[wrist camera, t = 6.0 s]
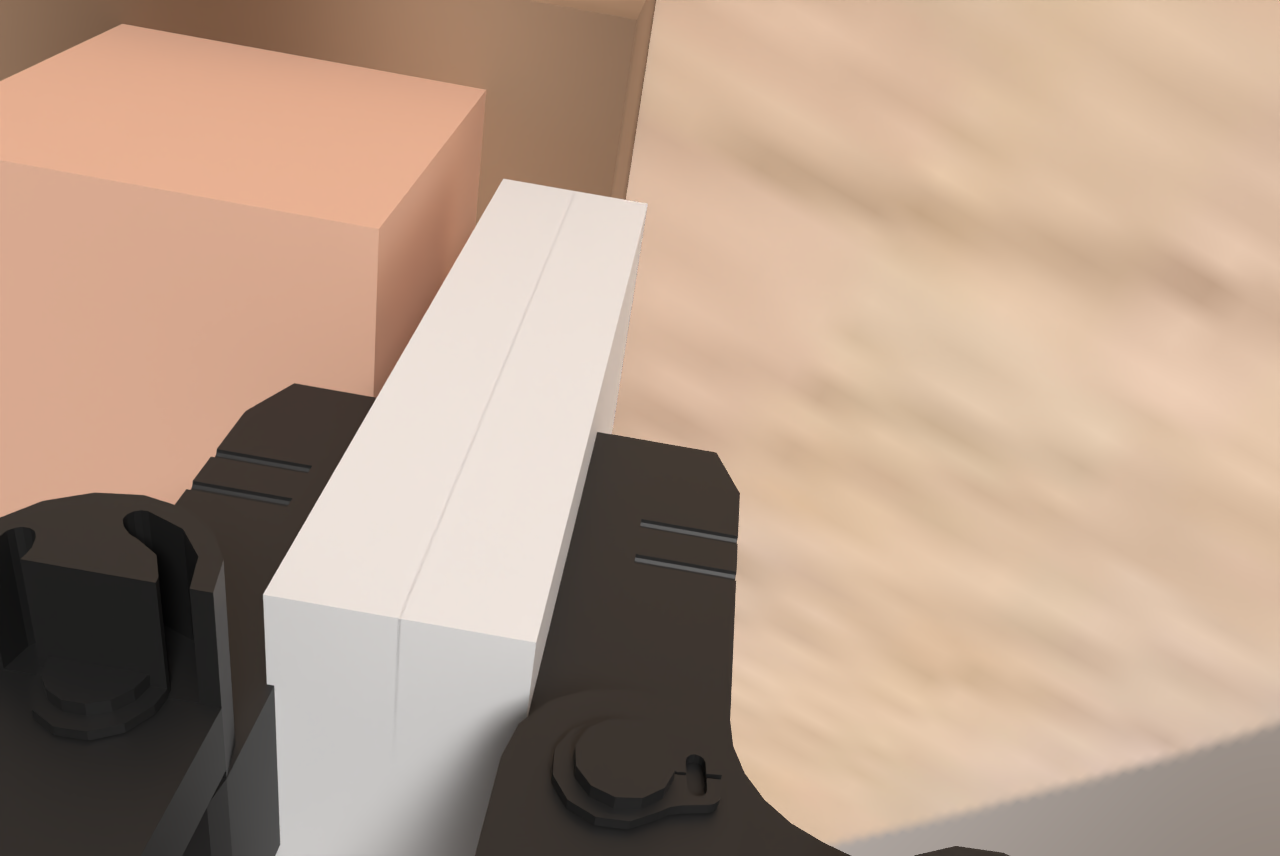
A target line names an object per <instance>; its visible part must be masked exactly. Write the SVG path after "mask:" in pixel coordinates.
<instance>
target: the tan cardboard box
mask: <svg viewBox="0 0 1280 856" xmlns="http://www.w3.org/2000/svg"><path fill="white" fill-rule="evenodd" d="M655 3H656V0H0V81H2V80H4V79H6V78H8V77H10V76H12V75H14V74H17V73H19V72H21V71H23V70H25V69H27V68H29V67H31V66H34V65H36V64H38V63H40V62H42V61H44V60H46V59H48V58H51V57H53V56H55V55H57V54H59V53H61V52H63V51H65V50H68V49H70V48H72V47H74V46H76V45H78V44H80V43H82V42H85V41H87V40H89V39H91V38H93V37H95V36H97V35H99V34H102V33H104V32H106V31H108V30H110V29H112V28H114V27H116V26H119V25H121V24H126V25H132V26H137V27H143V28H148V29H154V30H159V31H165V32H170V33H176V34H181V35H187V36H193V37H198V38H204V39H209V40H215V41H220V42H226V43H231V44H237V45H242V46H248V47H253V48H259V49H264V50H270V51H275V52H281V53H286V54H292V55H297V56H303V57H308V58H314V59H319V60H325V61H330V62H336V63H341V64H347V65H352V66H358V67H363V68H369V69H375V70H380V71H386V72H391V73H397V74H402V75H408V76H413V77H419V78H424V79H430V80H435V81H441V82H446V83H452V84H457V85H463V86H468V87H474V88H479V89H485V90H486V101H485V113H484V126H483V138H482V151H481V163H480V176H479V188H478V201H477V213H476V225H477V223H478V222H479V220H480V218H481V216H482V215H483V213H484V211H485V209H486V208H487V206H488V204H489V203H490V201H491V199H492V197H493V196H494V194H495V192H496V190H497V189H498V187H499V185H500V183H501V182H502V180H503V179H508V180H514V181H520V182H526V183H531V184H537V185H543V186H549V187H554V188H560V189H566V190H572V191H577V192H583V193H589V194H595V195H600V196H606V197H612V198H618V199H624V200H626V193H627V187H628V180H629V174H630V167H631V160H632V154H633V147H634V141H635V134H636V128H637V121H638V115H639V108H640V101H641V95H642V88H643V82H644V75H645V69H646V62H647V56H648V49H649V43H650V36H651V29H652V23H653V16H654V10H655ZM475 227H476V226H475Z"/></svg>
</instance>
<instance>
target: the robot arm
mask: <svg viewBox="0 0 1280 856" xmlns="http://www.w3.org/2000/svg"><path fill="white" fill-rule="evenodd" d="M647 206H648V204H647V203H641V202H635V201H629V200H624V199H618V198H612V197H606V196H600V195H595V194H589V193H583V192H577V191H572V190H566V189H560V188H554V187H549V186H543V185H537V184H531V183H526V182H520V181H514V180H508V179H503V180H502V182H501V183H500V185H499V187H498V189H497V190H496V192H495V194H494V196H493V197H492V199H491V201H490V203H489V204H488V206H487V208H486V209H485V211H484V213H483V215H482V216H481V218H480V220H479V222H478V223H477V225H476V227H475V229H474V230H473V232H472V234H471V235H470V237H469V239H468V241H467V242H466V244H465V246H464V248H463V249H462V251H461V253H460V254H459V256H458V258H457V260H456V261H455V263H454V265H453V267H452V268H451V270H450V272H449V274H448V275H447V277H446V279H445V280H444V282H443V284H442V286H441V287H440V289H439V291H438V293H437V294H436V296H435V298H434V299H433V301H432V303H431V305H430V306H429V308H428V310H427V312H426V313H425V315H424V317H423V319H422V320H421V322H420V324H419V325H418V327H417V329H416V331H415V332H414V334H413V336H412V338H411V339H410V341H409V343H408V345H407V346H406V348H405V350H404V351H403V353H402V355H401V357H400V358H399V360H398V362H397V364H396V365H395V367H394V369H393V370H392V372H391V374H390V376H389V377H388V379H387V381H386V383H385V384H384V386H383V388H382V390H381V391H380V393H379V395H378V396H377V398H376V397H370V396H365V395H359V394H353V393H347V392H342V391H336V390H330V389H325V388H319V387H313V386H307V385H302V384H296V383H294V384H292V385H290V386H289V387H287V388H285V389H283V390H281V391H280V392H278V393H276V394H274V395H273V396H271V397H269V398H267V399H266V400H264V401H262V402H260V403H259V404H257V405H255V406H253V407H252V408H250V409H248V410H246V411H245V412H244V413H243V415H242V416H241V417H240V419H239V420H238V421H237V423H236V424H235V425H234V427H233V428H232V429H231V431H230V432H229V433H228V435H227V436H226V437H225V439H224V440H223V441H222V443H221V444H220V445H219V447H218V448H217V452H216V456H215V457H210V458H209V460H208V461H207V462H206V464H205V465H204V466H203V468H202V469H201V470H200V472H199V473H198V474H197V476H196V477H195V478H194V480H193V483H192V488H191V490H189V489H186V490H185V492H184V493H183V494H182V496H181V497H180V498H179V500H178V501H177V502H176V504H175V505H174V504H171V503H168V502H164V501H161V500H158V499H155V498H152V497H149V496H146V495H134V494H115V493H96V492H94V493H88V494H82V495H76V496H70V497H63V498H57V499H51V500H45V501H41V502H38V503H36V504H33V505H31V506H28V507H26V508H23V509H20V510H18V511H15V512H13V513H10V514H8V515H5V516H2V517H0V856H850V855H848V854H846V853H844V852H842V851H840V850H838V849H836V848H834V847H831V846H829V845H827V844H825V843H823V842H821V841H820V840H818V839H816V838H815V837H813V836H811V835H810V834H808V833H806V832H805V831H803V830H801V829H800V828H798V827H796V826H795V825H793V824H791V823H790V822H789V821H788V820H787V819H785V818H784V817H783V816H782V815H781V814H780V813H779V812H778V811H776V810H775V809H774V808H773V807H772V806H771V805H770V804H768V803H767V802H766V801H765V800H764V799H763V797H762V796H761V795H760V793H759V792H758V791H757V789H756V788H755V787H754V785H753V784H752V783H751V781H750V780H749V779H748V777H747V776H746V775H745V773H744V771H743V769H742V766H741V764H740V761H739V759H738V757H737V754H736V752H735V750H734V747H733V742H732V733H731V725H730V709H731V686H732V662H733V639H734V615H735V592H736V581H735V576H736V568H737V545H738V544H737V538H738V521H739V498H740V493H739V491H738V489H737V488H736V486H735V484H734V483H733V481H732V479H731V477H730V476H729V474H728V472H727V470H726V469H725V467H724V465H723V463H722V462H721V460H720V458H719V457H718V455H717V453H715V452H709V451H704V450H698V449H692V448H686V447H681V446H675V445H669V444H663V443H658V442H652V441H646V440H641V439H635V438H629V437H623V436H618V435H612V430H613V424H614V418H615V412H616V405H617V399H618V392H619V386H620V379H621V373H622V367H623V360H624V354H625V347H626V341H627V334H628V328H629V322H630V315H631V309H632V302H633V296H634V289H635V283H636V277H637V270H638V264H639V257H640V251H641V244H642V238H643V232H644V225H645V219H646V212H647ZM915 856H1009V855H1007V854H1005V853H1000V852H993V851H986V850H980V849H972V848H965V847H959V846H954V847H950V848H945V849H941V850H937V851H932V852H928V853H923V854H919V855H915Z"/></svg>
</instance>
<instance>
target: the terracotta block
mask: <svg viewBox="0 0 1280 856" xmlns="http://www.w3.org/2000/svg"><path fill="white" fill-rule="evenodd" d="M485 101H486V90H485V89H479V88H474V87H468V86H463V85H457V84H452V83H446V82H441V81H435V80H430V79H424V78H419V77H413V76H408V75H402V74H397V73H391V72H386V71H380V70H375V69H369V68H363V67H358V66H352V65H347V64H341V63H336V62H330V61H325V60H319V59H314V58H308V57H303V56H297V55H292V54H286V53H281V52H275V51H270V50H264V49H259V48H253V47H248V46H242V45H237V44H231V43H226V42H220V41H215V40H209V39H204V38H198V37H193V36H187V35H181V34H176V33H170V32H165V31H159V30H154V29H148V28H143V27H137V26H132V25H126V24H121V25H119V26H116V27H114V28H112V29H110V30H108V31H106V32H104V33H102V34H99V35H97V36H95V37H93V38H91V39H89V40H87V41H85V42H82V43H80V44H78V45H76V46H74V47H72V48H70V49H68V50H65V51H63V52H61V53H59V54H57V55H55V56H53V57H51V58H48V59H46V60H44V61H42V62H40V63H38V64H36V65H34V66H31V67H29V68H27V69H25V70H23V71H21V72H19V73H17V74H14V75H12V76H10V77H8V78H6V79H4V80H2V81H0V517H2V516H5V515H8V514H10V513H13V512H15V511H18V510H20V509H23V508H26V507H28V506H31V505H33V504H36V503H38V502H41V501H45V500H51V499H57V498H63V497H70V496H76V495H82V494H88V493H94V492H96V493H115V494H134V495H146V496H149V497H152V498H155V499H158V500H161V501H164V502H168V503H171V504H174V505H175V504H176V502H177V501H178V500H179V498H180V497H181V496H182V494H183V493H184V492H185V490H186V489H189V490H191V488H192V483H193V480H194V478H195V477H196V476H197V474H198V473H199V472H200V470H201V469H202V468H203V466H204V465H205V464H206V462H207V461H208V460H209V458H210V457H215V456H216V452H217V448H218V447H219V445H220V444H221V443H222V441H223V440H224V439H225V437H226V436H227V435H228V433H229V432H230V431H231V429H232V428H233V427H234V425H235V424H236V423H237V421H238V420H239V419H240V417H241V416H242V415H243V413H244V412H245V411H246V410H248V409H250V408H252V407H253V406H255V405H257V404H259V403H260V402H262V401H264V400H266V399H267V398H269V397H271V396H273V395H274V394H276V393H278V392H280V391H281V390H283V389H285V388H287V387H289V386H290V385H292V384H294V383H296V384H302V385H307V386H313V387H319V388H325V389H330V390H336V391H342V392H347V393H353V394H359V395H365V396H370V397H376V398H377V396H378V395H379V393H380V391H381V390H382V388H383V386H384V384H385V383H386V381H387V379H388V377H389V376H390V374H391V372H392V370H393V369H394V367H395V365H396V364H397V362H398V360H399V358H400V357H401V355H402V353H403V351H404V350H405V348H406V346H407V345H408V343H409V341H410V339H411V338H412V336H413V334H414V332H415V331H416V329H417V327H418V325H419V324H420V322H421V320H422V319H423V317H424V315H425V313H426V312H427V310H428V308H429V306H430V305H431V303H432V301H433V299H434V298H435V296H436V294H437V293H438V291H439V289H440V287H441V286H442V284H443V282H444V280H445V279H446V277H447V275H448V274H449V272H450V270H451V268H452V267H453V265H454V263H455V261H456V260H457V258H458V256H459V254H460V253H461V251H462V249H463V248H464V246H465V244H466V242H467V241H468V239H469V237H470V235H471V234H472V232H473V230H474V229H475V226H476V213H477V201H478V188H479V176H480V163H481V151H482V138H483V126H484V113H485Z"/></svg>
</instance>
